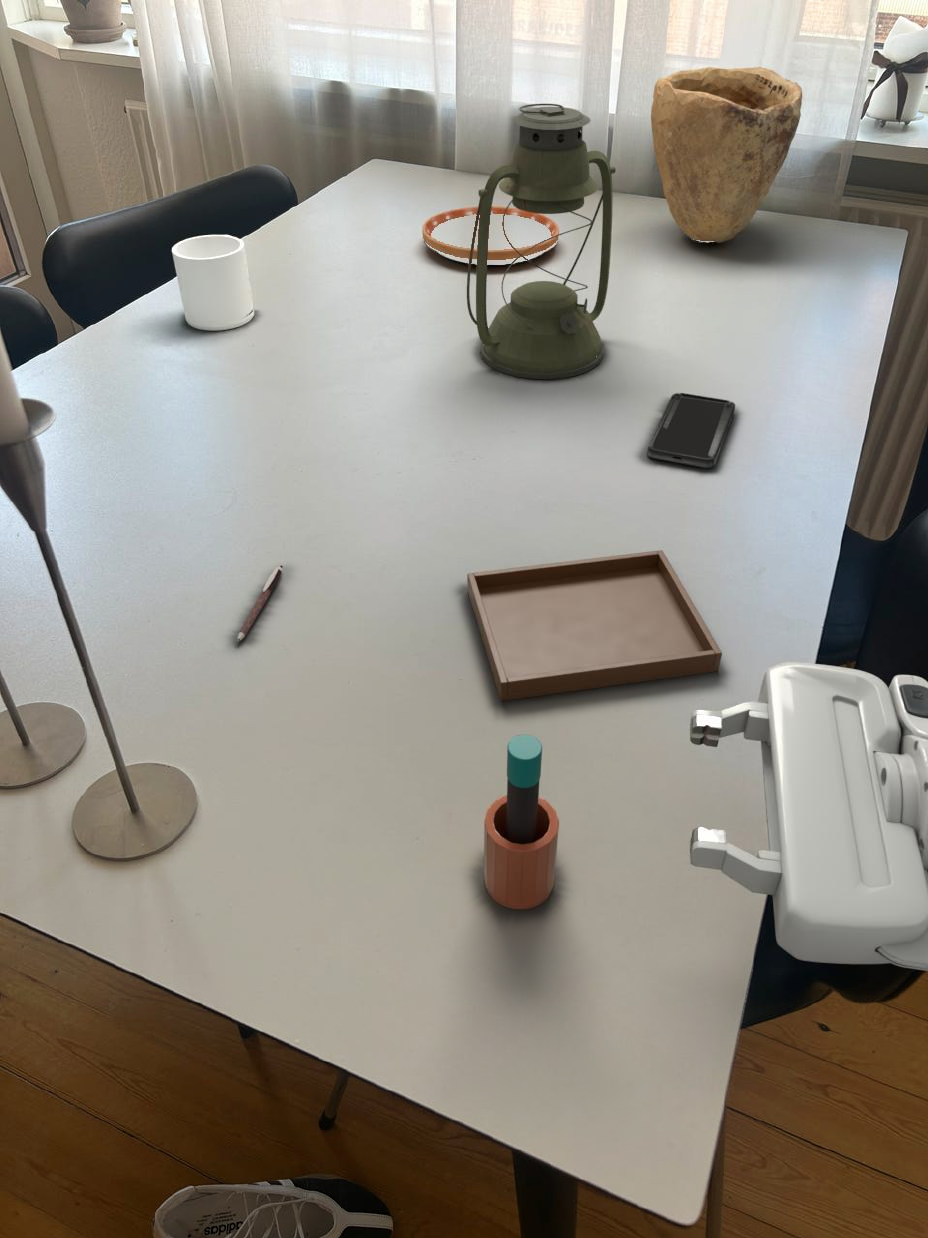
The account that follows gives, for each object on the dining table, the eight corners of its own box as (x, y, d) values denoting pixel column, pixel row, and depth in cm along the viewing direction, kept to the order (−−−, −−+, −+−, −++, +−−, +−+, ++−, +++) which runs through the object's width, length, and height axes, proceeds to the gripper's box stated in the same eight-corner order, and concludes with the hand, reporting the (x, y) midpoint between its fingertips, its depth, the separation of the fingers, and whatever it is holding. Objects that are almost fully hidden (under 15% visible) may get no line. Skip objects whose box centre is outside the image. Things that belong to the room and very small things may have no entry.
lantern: (508, 393, 123) (513, 137, 104) (444, 342, 135) (438, 104, 116) (639, 358, 130) (666, 113, 111) (568, 313, 142) (581, 85, 123)
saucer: (511, 218, 176) (512, 197, 173) (584, 256, 160) (586, 233, 158) (399, 240, 167) (398, 218, 165) (465, 283, 152) (465, 259, 149)
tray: (659, 567, 95) (662, 549, 93) (718, 671, 83) (722, 653, 82) (467, 590, 92) (467, 573, 91) (500, 701, 81) (500, 683, 79)
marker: (530, 860, 68) (537, 732, 59) (537, 885, 66) (545, 757, 58) (501, 864, 67) (504, 736, 59) (507, 889, 66) (511, 762, 57)
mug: (239, 333, 138) (227, 261, 131) (174, 328, 140) (159, 256, 133) (270, 299, 147) (261, 231, 141) (209, 295, 149) (197, 227, 143)
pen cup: (544, 846, 69) (548, 787, 65) (561, 903, 66) (566, 845, 61) (478, 857, 69) (478, 798, 64) (492, 915, 65) (493, 856, 61)
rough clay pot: (716, 276, 153) (744, 101, 137) (612, 240, 166) (626, 77, 150) (800, 243, 164) (835, 77, 148) (697, 212, 177) (718, 57, 161)
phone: (736, 401, 118) (714, 460, 107) (735, 410, 119) (713, 469, 108) (672, 391, 120) (644, 448, 110) (671, 399, 121) (643, 456, 110)
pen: (278, 569, 95) (277, 560, 94) (286, 570, 95) (284, 561, 94) (234, 643, 86) (232, 635, 86) (242, 644, 86) (240, 636, 86)
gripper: (951, 1007, 51) (683, 966, 53) (890, 726, 66) (684, 702, 68) (992, 941, 47) (700, 899, 48) (916, 657, 62) (697, 635, 64)
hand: (690, 782), depth 58 cm, fingers open, 8 cm apart
